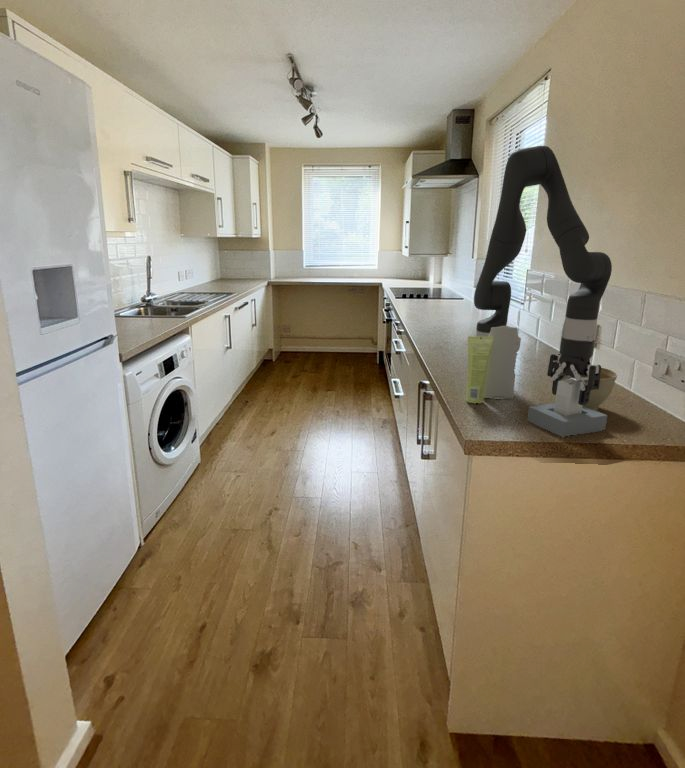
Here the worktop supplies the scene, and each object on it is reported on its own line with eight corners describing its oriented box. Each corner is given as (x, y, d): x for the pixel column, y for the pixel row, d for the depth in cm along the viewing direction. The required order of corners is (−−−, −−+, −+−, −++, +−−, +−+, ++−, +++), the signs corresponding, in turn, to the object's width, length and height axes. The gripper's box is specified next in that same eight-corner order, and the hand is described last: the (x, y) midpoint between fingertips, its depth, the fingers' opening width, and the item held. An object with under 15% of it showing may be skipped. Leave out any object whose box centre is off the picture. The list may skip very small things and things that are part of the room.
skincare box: (564, 420, 129) (571, 376, 126) (580, 426, 126) (587, 380, 122) (550, 425, 126) (556, 380, 123) (566, 430, 123) (572, 384, 119)
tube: (471, 397, 148) (477, 333, 143) (487, 401, 145) (493, 336, 139) (462, 401, 144) (467, 336, 139) (478, 405, 141) (484, 338, 135)
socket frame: (527, 421, 129) (529, 406, 128) (568, 414, 134) (570, 401, 133) (562, 437, 118) (564, 422, 117) (604, 430, 123) (607, 415, 122)
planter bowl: (548, 396, 150) (552, 361, 147) (606, 402, 145) (613, 367, 141) (548, 412, 136) (553, 374, 133) (614, 420, 130) (621, 381, 127)
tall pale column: (511, 395, 150) (519, 324, 144) (516, 399, 146) (525, 326, 140) (477, 395, 150) (484, 324, 143) (481, 400, 146) (488, 326, 140)
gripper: (545, 332, 125) (537, 393, 129) (590, 342, 112) (580, 409, 116) (567, 330, 127) (559, 390, 132) (614, 340, 114) (603, 406, 119)
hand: (569, 399), depth 124 cm, fingers open, 8 cm apart
